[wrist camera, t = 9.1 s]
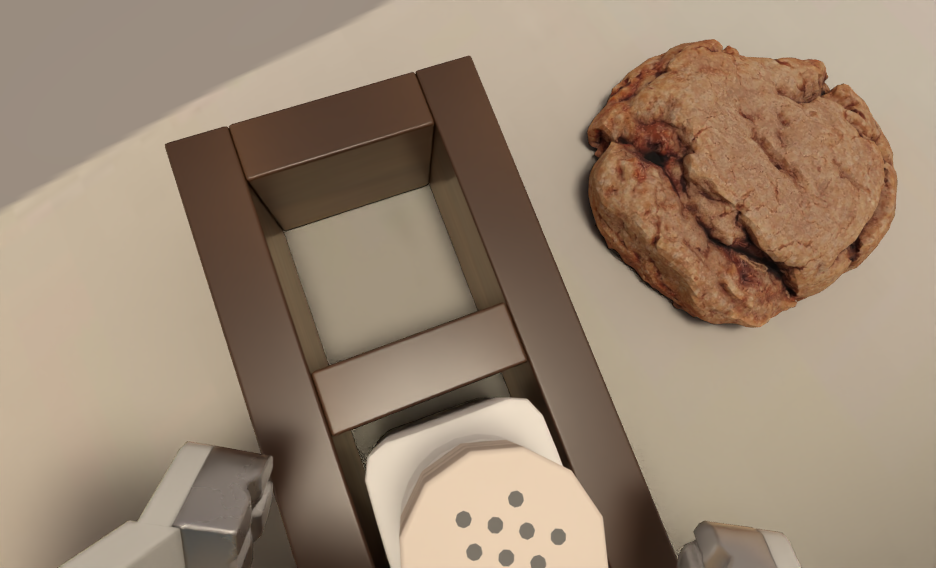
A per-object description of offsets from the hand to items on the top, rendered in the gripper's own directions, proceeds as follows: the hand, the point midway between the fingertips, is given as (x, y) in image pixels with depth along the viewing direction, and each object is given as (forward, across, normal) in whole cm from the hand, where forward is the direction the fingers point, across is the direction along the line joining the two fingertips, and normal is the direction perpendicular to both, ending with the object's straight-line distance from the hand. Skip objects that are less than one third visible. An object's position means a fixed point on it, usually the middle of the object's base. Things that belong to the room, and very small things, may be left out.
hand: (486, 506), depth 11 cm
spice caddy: (+7, +2, +3) cm, 8 cm away
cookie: (+13, -8, -2) cm, 15 cm away
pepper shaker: (+5, 0, +5) cm, 7 cm away
